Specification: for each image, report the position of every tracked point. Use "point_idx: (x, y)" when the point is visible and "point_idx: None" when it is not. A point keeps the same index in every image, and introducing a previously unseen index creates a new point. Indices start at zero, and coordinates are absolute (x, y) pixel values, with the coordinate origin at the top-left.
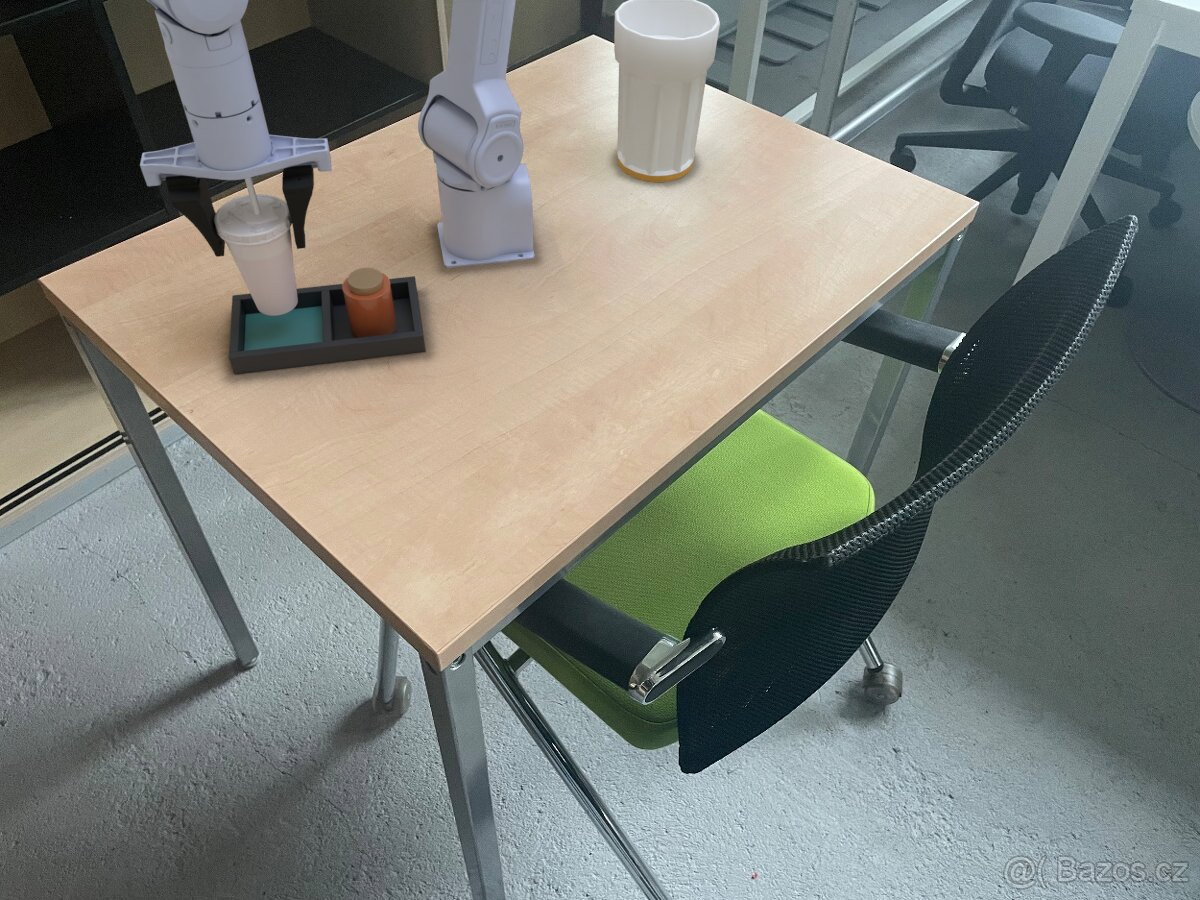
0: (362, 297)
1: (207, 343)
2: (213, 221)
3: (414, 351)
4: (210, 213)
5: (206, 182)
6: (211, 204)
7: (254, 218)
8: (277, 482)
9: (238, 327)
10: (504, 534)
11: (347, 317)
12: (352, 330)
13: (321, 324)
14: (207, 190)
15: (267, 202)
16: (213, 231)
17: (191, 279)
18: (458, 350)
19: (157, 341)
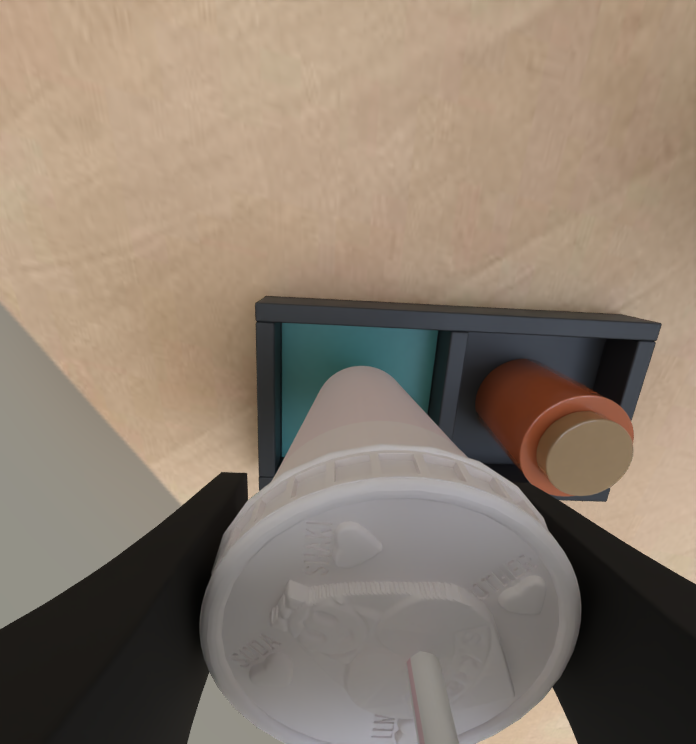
0: (555, 489)
1: (212, 369)
2: (198, 631)
3: None
4: (176, 684)
5: (79, 730)
6: (169, 613)
7: (403, 699)
8: None
9: (273, 413)
10: (558, 735)
11: (476, 365)
12: (480, 418)
13: (426, 380)
14: (114, 709)
15: (480, 560)
16: (206, 667)
17: (147, 131)
18: (630, 474)
19: (115, 343)
